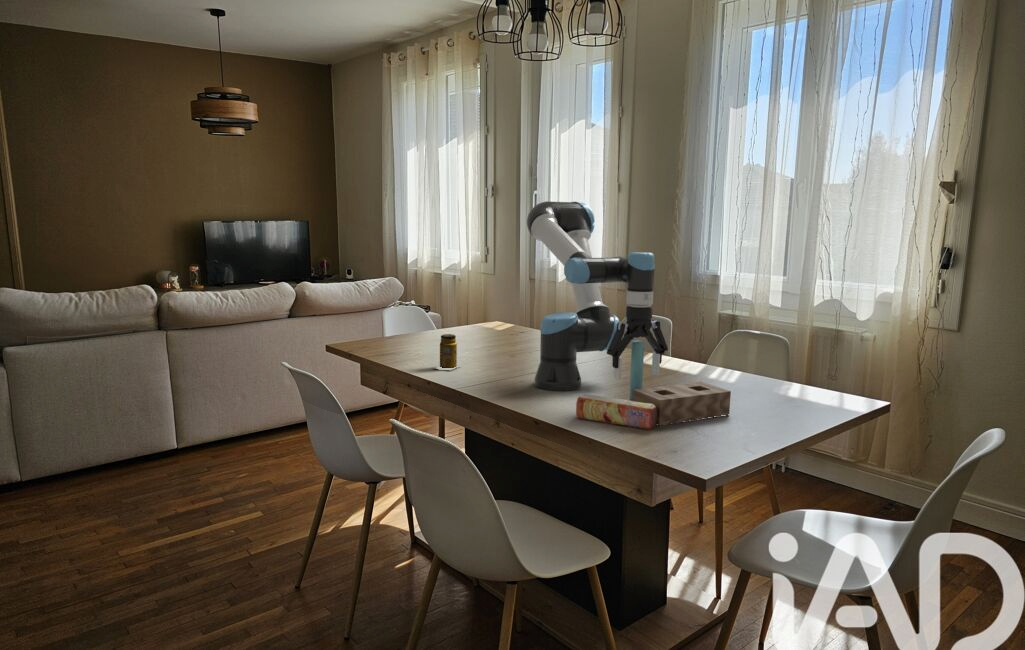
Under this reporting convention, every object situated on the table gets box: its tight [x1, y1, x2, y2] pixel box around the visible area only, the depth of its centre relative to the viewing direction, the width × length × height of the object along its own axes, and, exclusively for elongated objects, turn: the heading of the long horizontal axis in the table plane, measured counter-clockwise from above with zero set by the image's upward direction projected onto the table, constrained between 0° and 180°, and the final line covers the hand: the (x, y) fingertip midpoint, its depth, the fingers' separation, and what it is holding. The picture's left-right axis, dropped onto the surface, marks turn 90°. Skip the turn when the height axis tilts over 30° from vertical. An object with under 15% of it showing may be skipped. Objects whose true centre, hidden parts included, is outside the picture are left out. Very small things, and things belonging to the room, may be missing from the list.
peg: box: [629, 340, 645, 401], centre depth 202 cm, size 4×4×18 cm
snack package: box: [575, 392, 657, 430], centre depth 182 cm, size 21×7×7 cm, turn 63°
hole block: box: [633, 381, 732, 426], centre depth 189 cm, size 24×12×7 cm, turn 116°
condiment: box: [439, 333, 458, 368], centre depth 243 cm, size 7×8×12 cm
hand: (636, 376), depth 202 cm, fingers open, 13 cm apart
